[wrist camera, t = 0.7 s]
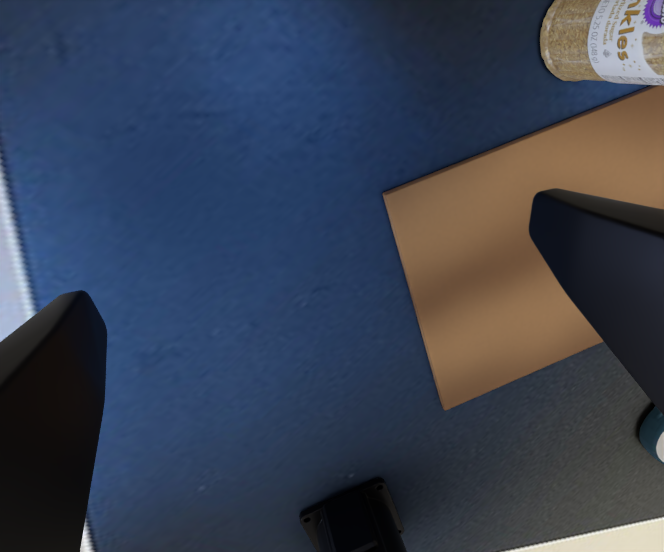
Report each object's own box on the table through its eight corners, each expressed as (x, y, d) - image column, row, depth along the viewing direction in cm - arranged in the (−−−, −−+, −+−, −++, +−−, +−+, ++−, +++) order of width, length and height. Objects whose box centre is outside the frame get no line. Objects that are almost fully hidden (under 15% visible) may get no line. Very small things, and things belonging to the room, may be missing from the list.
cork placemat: (720, 284, 33) (727, 287, 33) (441, 406, 32) (444, 411, 31) (745, 47, 26) (755, 47, 25) (381, 192, 24) (385, 195, 24)
